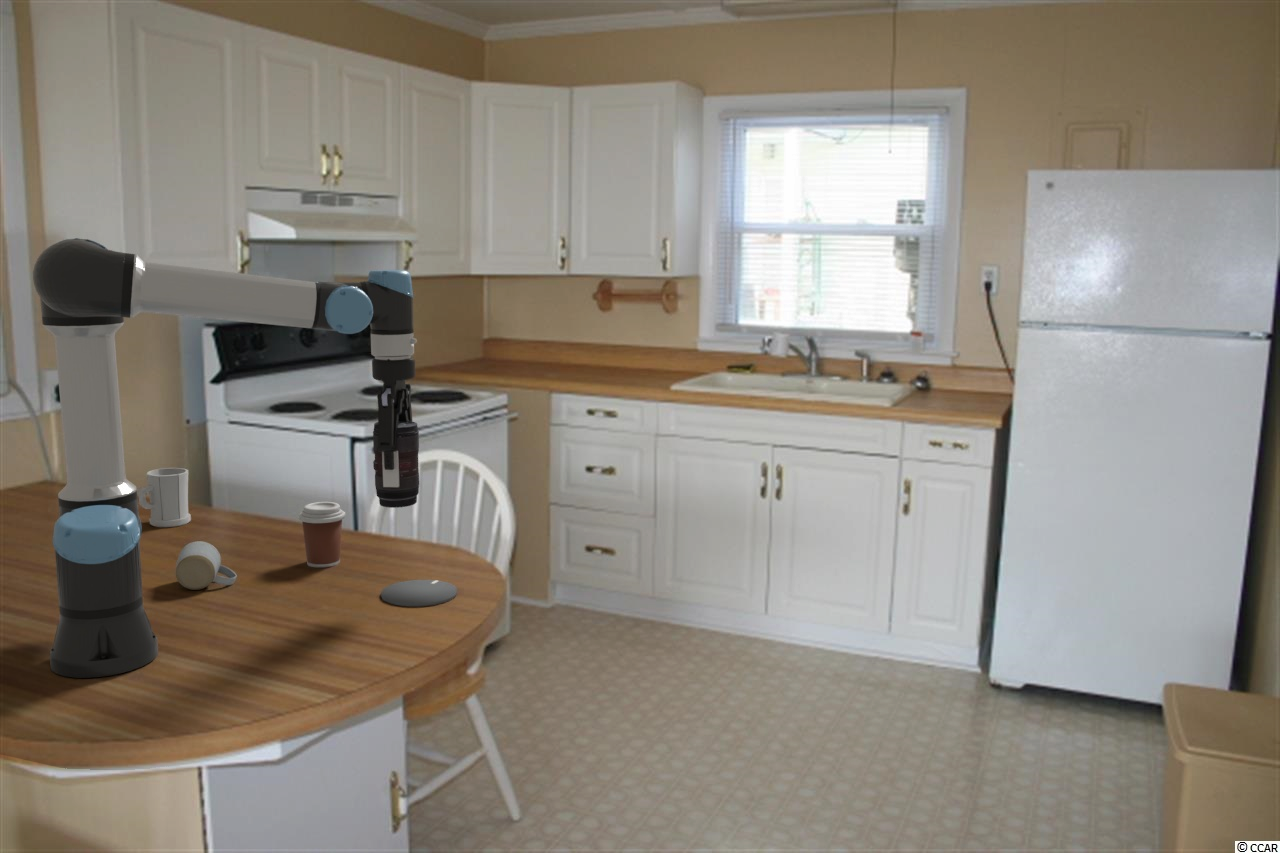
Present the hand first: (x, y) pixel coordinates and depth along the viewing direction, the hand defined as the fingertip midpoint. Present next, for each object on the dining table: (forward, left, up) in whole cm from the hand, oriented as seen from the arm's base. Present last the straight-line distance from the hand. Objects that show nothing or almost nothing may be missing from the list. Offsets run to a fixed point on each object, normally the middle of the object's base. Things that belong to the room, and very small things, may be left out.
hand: (397, 480), depth 198 cm
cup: (+25, +76, -22) cm, 83 cm away
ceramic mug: (-7, +38, -22) cm, 45 cm away
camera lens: (0, 0, -4) cm, 4 cm away
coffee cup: (+13, +26, -22) cm, 36 cm away
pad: (+3, -2, -22) cm, 23 cm away
